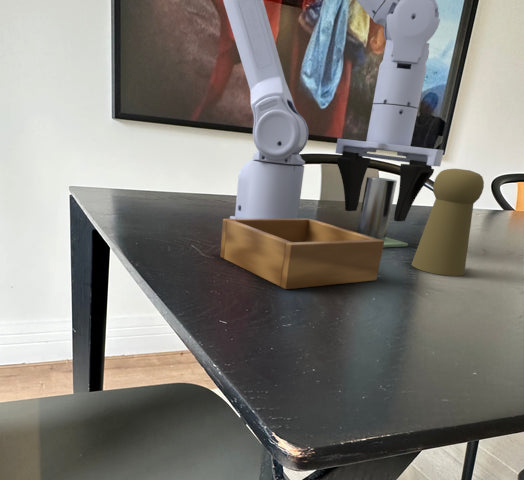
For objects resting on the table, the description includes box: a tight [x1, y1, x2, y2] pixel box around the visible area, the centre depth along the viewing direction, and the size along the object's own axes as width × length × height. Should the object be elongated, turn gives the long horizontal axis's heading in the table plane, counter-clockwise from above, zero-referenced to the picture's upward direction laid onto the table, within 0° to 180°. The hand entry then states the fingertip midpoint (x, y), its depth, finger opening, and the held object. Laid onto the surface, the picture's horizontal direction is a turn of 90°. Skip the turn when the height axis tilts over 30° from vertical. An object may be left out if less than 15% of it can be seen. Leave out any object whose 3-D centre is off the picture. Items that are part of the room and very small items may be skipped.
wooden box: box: [219, 217, 384, 290], centre depth 50 cm, size 12×12×4 cm
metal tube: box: [356, 176, 398, 241], centre depth 68 cm, size 4×4×8 cm
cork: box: [411, 168, 485, 277], centre depth 56 cm, size 6×6×11 cm
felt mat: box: [383, 236, 409, 249], centre depth 70 cm, size 8×8×1 cm
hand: (374, 215), depth 69 cm, fingers open, 7 cm apart
